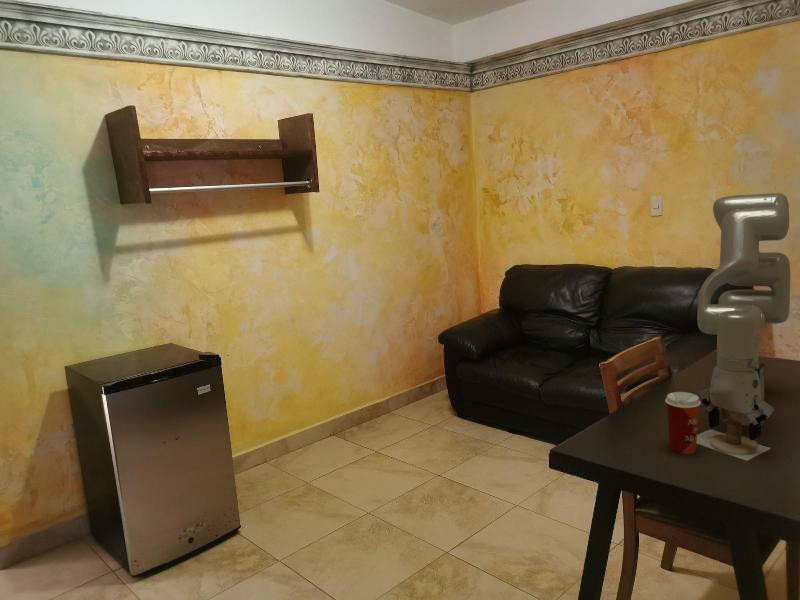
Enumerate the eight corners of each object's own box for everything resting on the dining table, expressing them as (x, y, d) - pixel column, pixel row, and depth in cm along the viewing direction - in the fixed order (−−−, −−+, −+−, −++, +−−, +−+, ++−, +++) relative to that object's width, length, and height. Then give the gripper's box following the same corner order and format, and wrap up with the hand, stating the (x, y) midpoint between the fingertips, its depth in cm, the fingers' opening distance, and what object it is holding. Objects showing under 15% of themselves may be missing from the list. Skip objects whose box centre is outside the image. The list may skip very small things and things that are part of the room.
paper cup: (698, 460, 136) (699, 403, 134) (663, 455, 140) (662, 400, 138) (702, 447, 143) (702, 392, 140) (667, 442, 147) (667, 389, 144)
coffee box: (765, 422, 154) (766, 363, 151) (759, 430, 149) (761, 370, 146) (726, 415, 160) (727, 359, 157) (720, 423, 155) (720, 365, 152)
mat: (710, 431, 151) (710, 429, 151) (770, 450, 138) (770, 448, 138) (686, 442, 146) (686, 439, 146) (746, 463, 133) (746, 460, 133)
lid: (725, 433, 147) (725, 411, 146) (766, 446, 139) (767, 423, 138) (701, 445, 142) (701, 422, 141) (742, 459, 134) (742, 434, 133)
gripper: (782, 367, 131) (780, 439, 134) (709, 353, 146) (708, 418, 149) (764, 374, 128) (762, 448, 130) (690, 359, 142) (690, 425, 145)
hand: (733, 432), depth 140 cm, fingers open, 9 cm apart
